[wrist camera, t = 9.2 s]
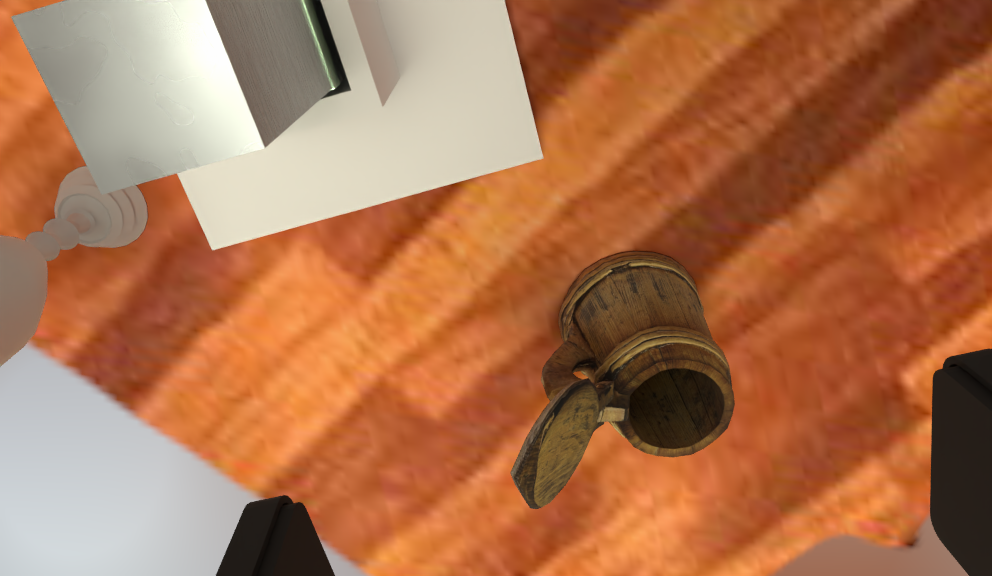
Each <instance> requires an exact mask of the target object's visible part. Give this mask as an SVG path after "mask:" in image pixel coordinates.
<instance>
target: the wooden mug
mask: <svg viewBox="0 0 992 576" xmlns="http://www.w3.org/2000/svg"><path fill="white" fill-rule="evenodd" d="M558 323H559V328H560V332H561V336H562V339H563V341H564V344H563V345H562V346H561V347H559V348H558V349H557V350H556V351H555V352H554V354H553V355H552V356H551V357H550V359H549V360H548V361H547V363H546V364H545V365H544V367H543V371H542V377H541V381H542V384H543V387H544V389H545V392H546V394H547V397H548V398H549V400H550V403H549V404H548V405H547V406H546V408H545V409H544V410H543V412H542V413H541V415H540V416H539V418H538V419H537V421H536V422H535V424H534V425H533V427H532V429H531V430H530V432H529V434H528V436H527V437H526V439H525V441H524V444H523V446H522V448H521V450H520V453H519V455H518V457H517V459H516V461H515V464H514V466H513V468H512V470H511V472H510V473H511V476H512V478H513V481H514V483H515V485H516V487H517V488H518V490H519V491H520V493H521V495H522V496H523V498H524V499H525V501H526V503H527V504H528V505H529V506H530V508H533V509H539V508H541V507H543V506H545V505H547V504H548V503H550V502H551V501H552V500H553V499H554V498H555V496H556V495H557V494H558V493H559V492H560V491H561V490H562V488H563V487H564V486H565V485H566V484H567V482H568V480H569V479H570V477H571V476H572V474H573V472H574V471H575V469H576V467H577V466H578V464H579V462H580V461H581V458H582V456H583V454H584V452H585V450H586V448H587V445H588V443H589V441H590V438H591V436H592V434H593V432H594V431H595V430H596V429H597V428H598V427H600V426H601V425H603V424H604V422H606V421H608V422H609V423H610V424H611V425H612V426H613V427H614V428H615V429H616V430H617V431H618V432H619V433H620V435H621V436H623V437H625V438H627V439H628V441H629V442H630V443H631V444H632V445H633V446H634V447H635V448H637V449H639V450H641V451H643V452H644V453H647V454H651V455H655V456H664V457H678V456H685V455H692V454H694V453H696V452H698V451H700V450H702V449H704V448H705V447H706V446H708V445H709V444H710V443H712V442H713V441H715V440H716V439H717V438H718V437H719V436H720V435H721V434H722V433H723V432H724V431H725V430H726V429H727V428H728V425H729V423H730V420H731V417H732V414H733V409H734V405H735V403H734V393H733V390H732V383H731V375H730V369H729V365H728V362H727V360H726V357H725V355H724V353H723V351H722V350H721V349H720V347H719V346H718V345H717V344H716V343H715V342H714V341H713V339H712V337H711V334H710V331H709V329H708V326H707V323H706V321H705V318H704V315H703V306H702V303H701V300H700V298H699V295H698V292H697V288H696V285H695V282H694V280H693V279H692V277H691V276H690V275H689V273H688V272H687V271H686V269H685V268H684V267H683V266H682V265H680V264H679V263H677V262H676V261H675V260H673V259H672V258H671V257H668V256H665V255H661V254H658V253H655V252H640V251H633V252H626V253H620V254H617V255H614V256H610V257H607V258H604V259H601V260H599V261H598V262H596V263H595V264H593V265H592V266H590V267H589V268H587V269H586V270H584V271H583V272H582V273H581V275H580V276H579V277H578V278H577V280H576V281H575V282H574V283H573V285H572V286H571V287H570V289H569V291H568V293H567V295H566V297H565V300H564V302H563V304H562V307H561V310H560V313H559V322H558ZM576 371H581V372H582V373H583V374H584V375H586V376H588V379H583V380H582V379H580V378H577V377H576V376H575V375H574V374H573V373H574V372H576Z"/></svg>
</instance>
